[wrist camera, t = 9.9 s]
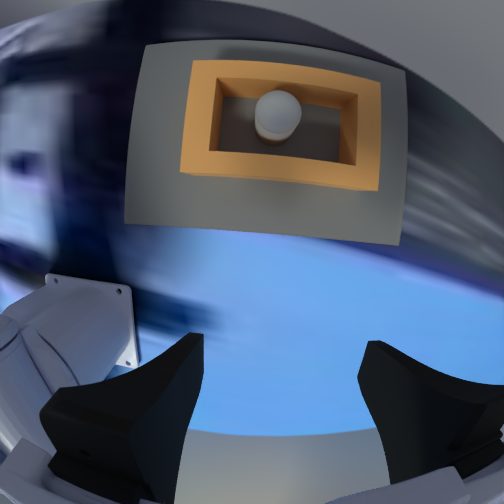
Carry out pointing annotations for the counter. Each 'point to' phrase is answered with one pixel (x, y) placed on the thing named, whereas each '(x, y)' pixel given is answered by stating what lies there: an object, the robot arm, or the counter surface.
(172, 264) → the counter surface
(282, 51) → the keeper plate
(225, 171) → the orange rectangular frame
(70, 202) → the counter surface
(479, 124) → the counter surface
